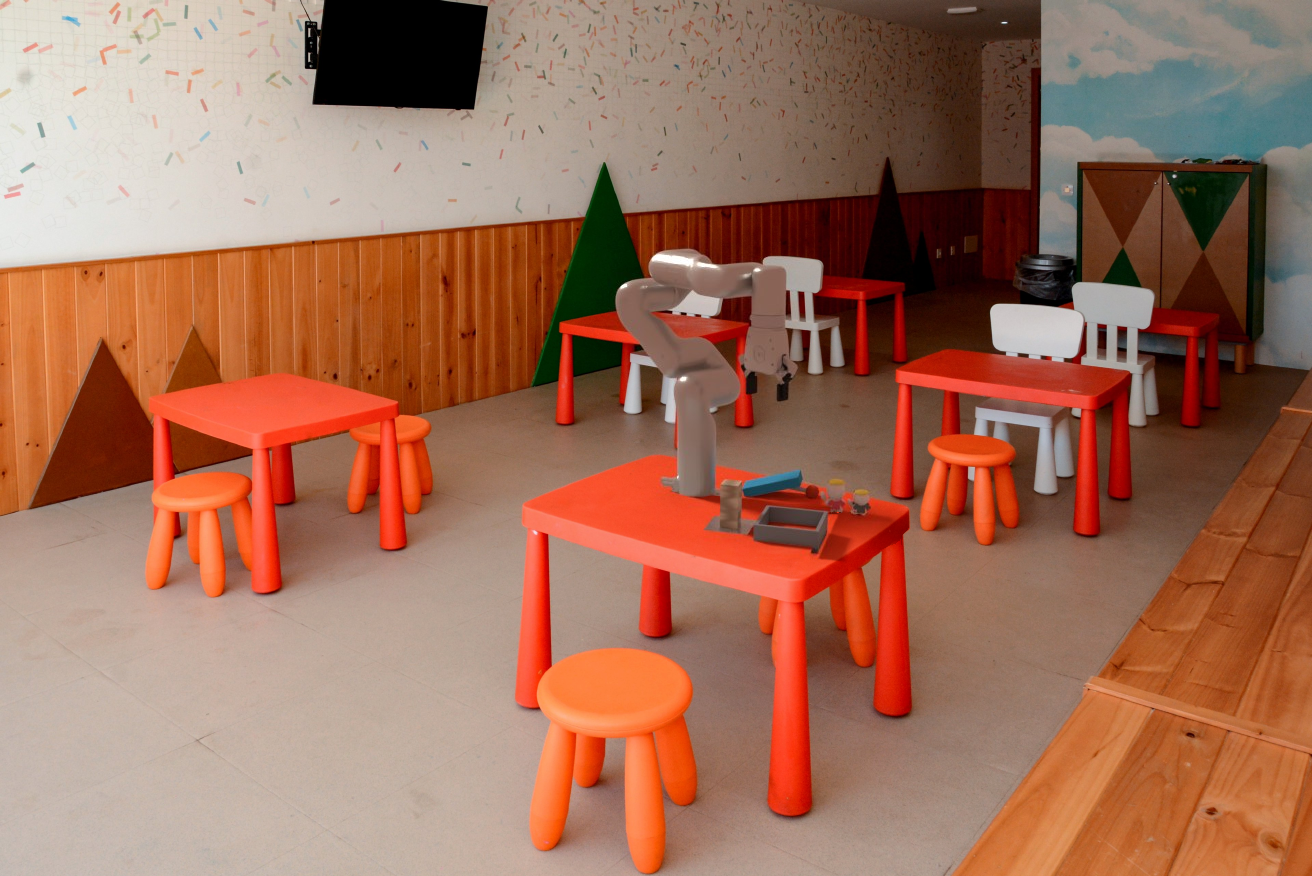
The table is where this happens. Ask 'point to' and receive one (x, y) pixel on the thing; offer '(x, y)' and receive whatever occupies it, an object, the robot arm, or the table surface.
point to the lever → (778, 484)
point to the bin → (792, 534)
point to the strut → (730, 503)
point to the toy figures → (837, 492)
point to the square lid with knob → (742, 529)
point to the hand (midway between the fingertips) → (766, 397)
